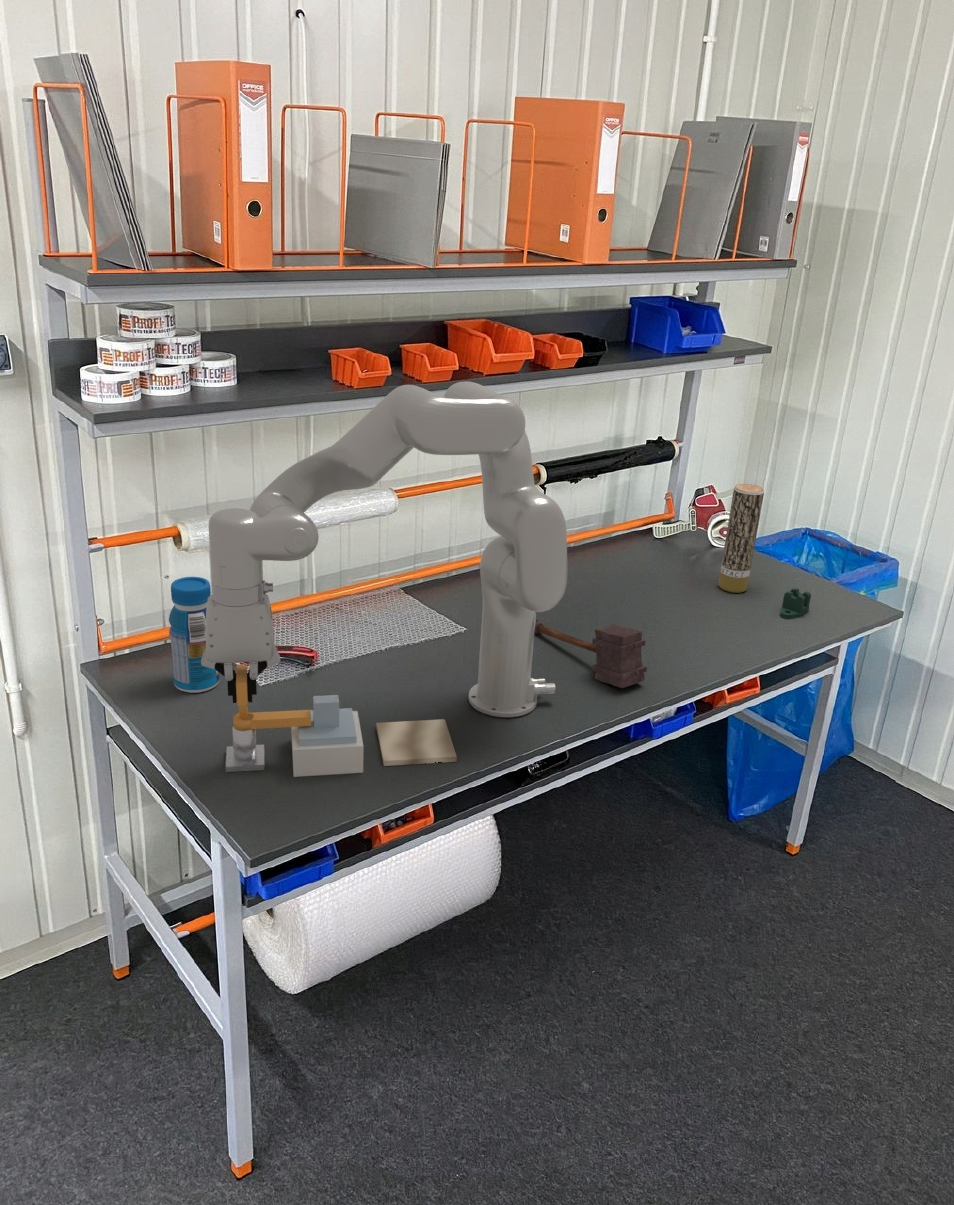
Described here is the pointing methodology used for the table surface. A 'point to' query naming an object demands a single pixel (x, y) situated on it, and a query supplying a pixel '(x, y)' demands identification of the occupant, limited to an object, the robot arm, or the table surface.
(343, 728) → the cover
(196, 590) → the beverage bottle
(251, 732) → the grey square flange base
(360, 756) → the housing
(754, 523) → the paper tube
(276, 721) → the latch
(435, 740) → the pad
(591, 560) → the table surface
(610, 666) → the hammer
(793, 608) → the mount
